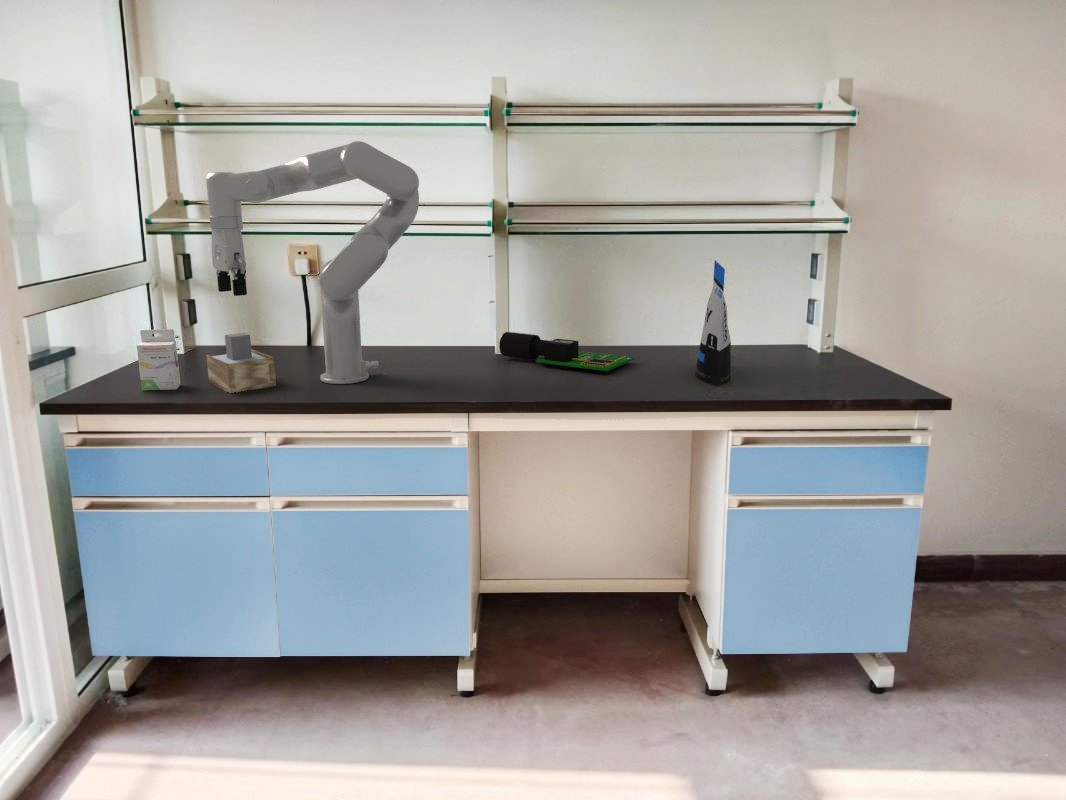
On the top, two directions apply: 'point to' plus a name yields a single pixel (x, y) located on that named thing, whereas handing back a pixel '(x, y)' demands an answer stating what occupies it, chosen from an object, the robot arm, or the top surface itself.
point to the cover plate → (238, 349)
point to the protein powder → (715, 336)
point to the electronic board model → (557, 352)
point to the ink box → (158, 360)
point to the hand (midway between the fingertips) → (232, 293)
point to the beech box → (242, 373)
